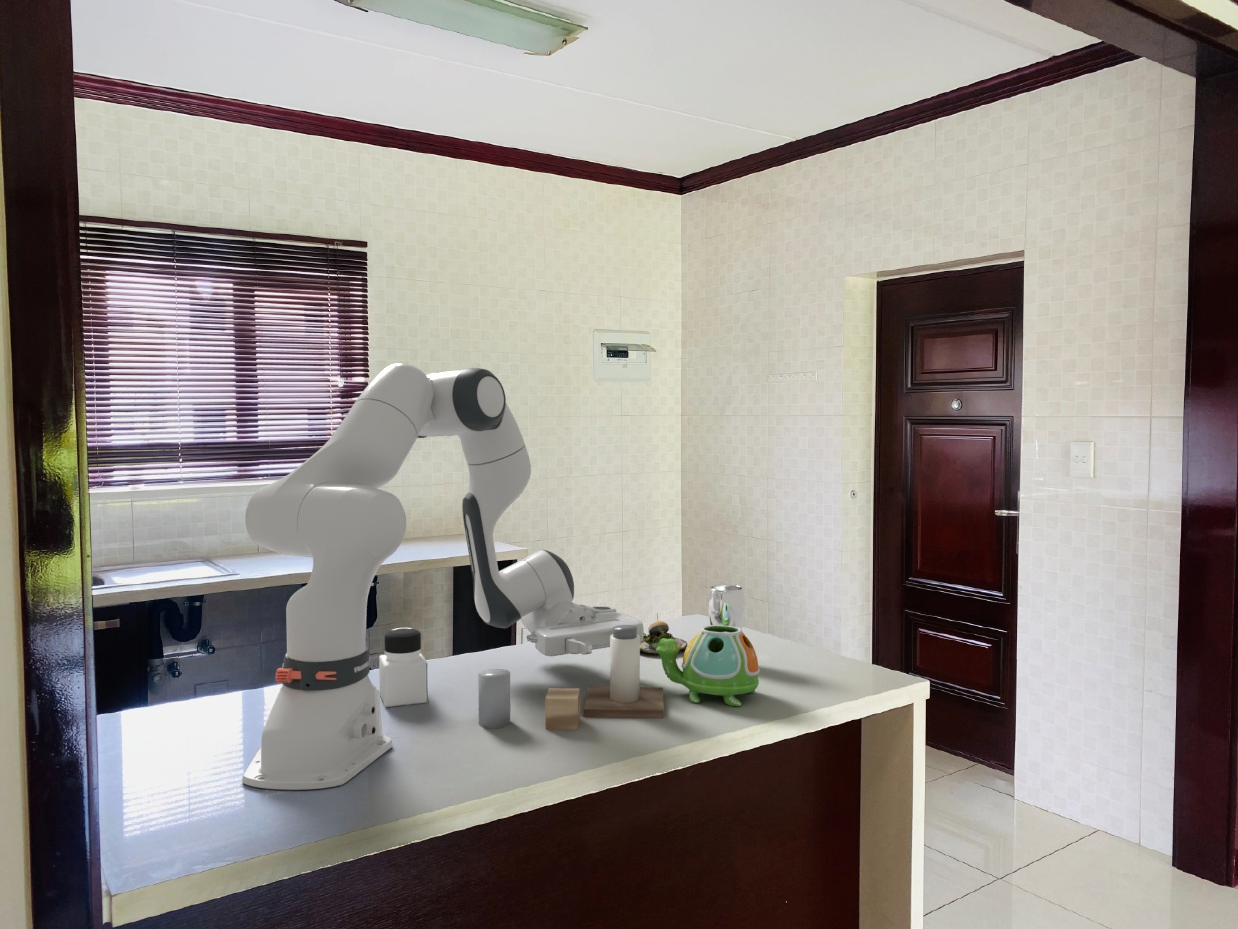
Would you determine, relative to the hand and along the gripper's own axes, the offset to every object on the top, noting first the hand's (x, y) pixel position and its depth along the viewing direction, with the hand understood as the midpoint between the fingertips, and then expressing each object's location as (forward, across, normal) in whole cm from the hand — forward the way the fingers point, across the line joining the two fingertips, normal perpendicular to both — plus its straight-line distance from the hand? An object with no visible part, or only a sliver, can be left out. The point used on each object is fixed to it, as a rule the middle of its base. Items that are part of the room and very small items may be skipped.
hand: (611, 645), depth 156 cm
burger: (-21, +24, +10) cm, 34 cm away
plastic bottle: (+4, 0, +8) cm, 9 cm away
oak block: (+7, -13, +9) cm, 18 cm away
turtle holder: (+8, +16, +9) cm, 20 cm away
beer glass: (-7, +30, +9) cm, 32 cm away
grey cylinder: (+1, -22, +9) cm, 24 cm away
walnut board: (+4, 0, +9) cm, 10 cm away
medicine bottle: (-18, -31, +9) cm, 37 cm away
